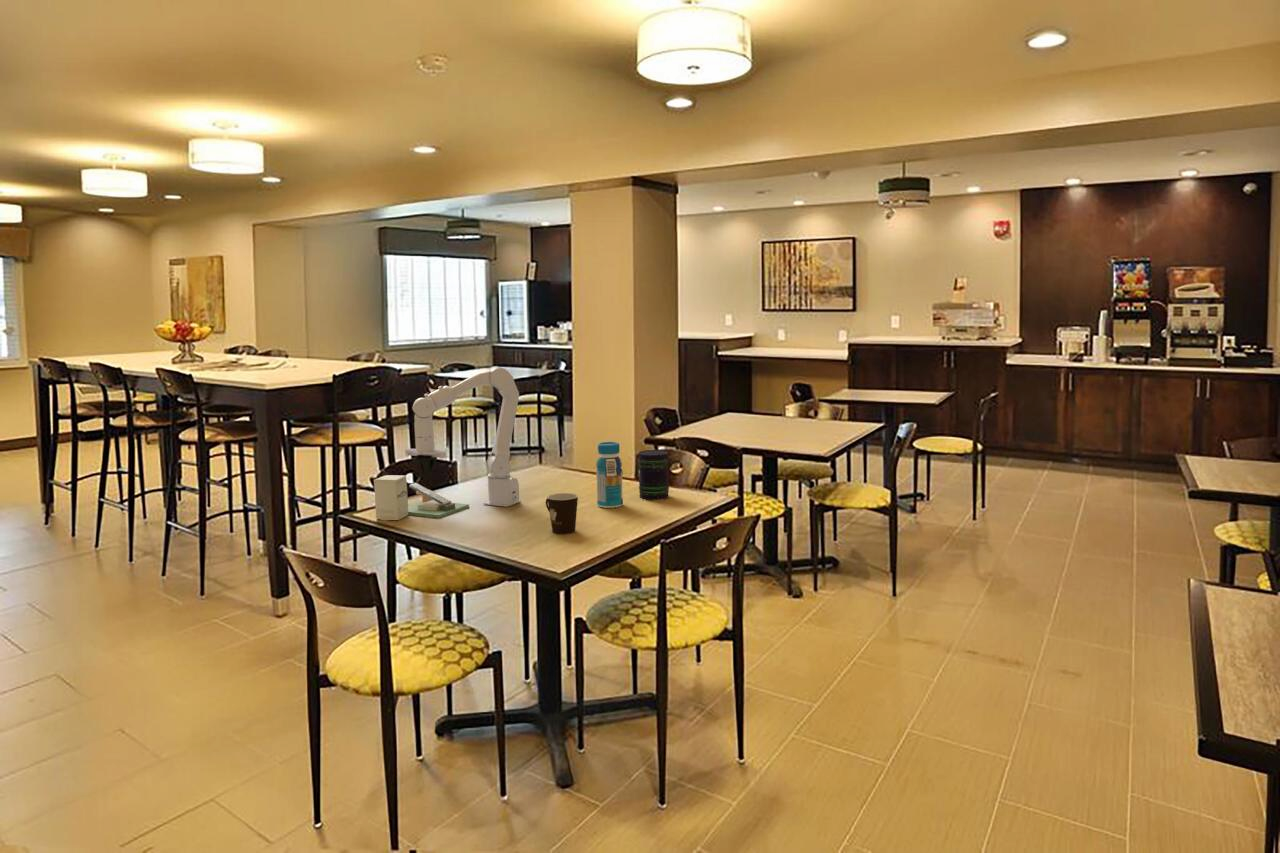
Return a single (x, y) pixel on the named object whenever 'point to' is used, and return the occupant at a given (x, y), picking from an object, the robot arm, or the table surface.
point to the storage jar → (653, 474)
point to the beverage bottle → (609, 476)
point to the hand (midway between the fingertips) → (427, 479)
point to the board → (434, 508)
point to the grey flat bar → (429, 494)
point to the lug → (424, 497)
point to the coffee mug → (562, 512)
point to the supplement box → (391, 497)
